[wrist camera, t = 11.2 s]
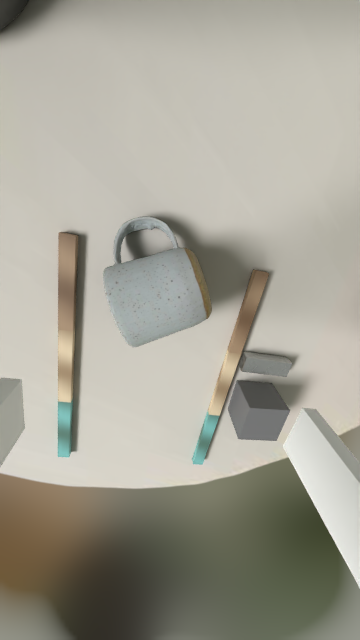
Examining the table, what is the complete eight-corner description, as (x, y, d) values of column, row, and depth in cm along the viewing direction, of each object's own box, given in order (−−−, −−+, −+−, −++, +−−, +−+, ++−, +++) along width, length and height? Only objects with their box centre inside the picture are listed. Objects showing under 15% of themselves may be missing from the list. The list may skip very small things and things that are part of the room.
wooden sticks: (61, 232, 23) (58, 232, 22) (266, 271, 26) (269, 273, 25) (59, 451, 34) (57, 456, 33) (201, 459, 37) (202, 464, 37)
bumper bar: (242, 351, 30) (246, 357, 28) (286, 357, 31) (292, 363, 29) (238, 364, 31) (241, 371, 29) (280, 369, 32) (286, 376, 30)
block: (249, 407, 27) (238, 439, 29) (290, 410, 28) (276, 440, 30) (236, 379, 32) (227, 408, 34) (271, 382, 32) (260, 410, 34)
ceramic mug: (205, 303, 27) (222, 334, 20) (137, 326, 27) (130, 364, 20) (176, 204, 23) (184, 198, 16) (95, 232, 23) (68, 239, 16)
